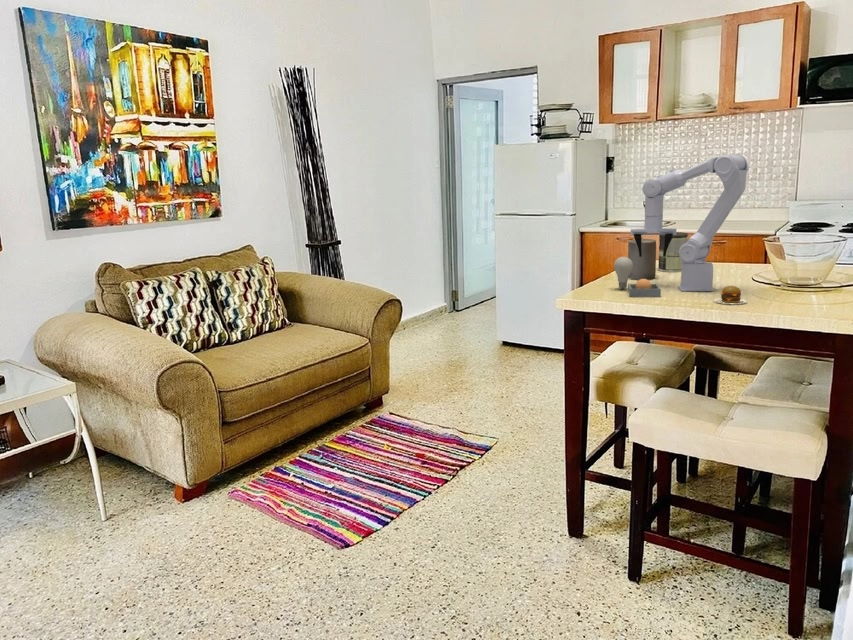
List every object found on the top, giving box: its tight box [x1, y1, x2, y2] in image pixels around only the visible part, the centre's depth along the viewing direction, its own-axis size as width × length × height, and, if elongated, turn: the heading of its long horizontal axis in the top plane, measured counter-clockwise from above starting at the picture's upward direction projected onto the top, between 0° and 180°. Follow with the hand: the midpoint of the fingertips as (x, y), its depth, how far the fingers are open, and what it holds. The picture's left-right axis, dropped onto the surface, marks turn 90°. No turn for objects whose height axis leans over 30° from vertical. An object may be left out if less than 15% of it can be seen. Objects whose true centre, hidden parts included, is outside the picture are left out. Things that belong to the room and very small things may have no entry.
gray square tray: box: [627, 283, 662, 298], centre depth 211 cm, size 9×9×2 cm
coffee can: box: [657, 231, 689, 273], centre depth 254 cm, size 10×10×14 cm
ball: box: [635, 279, 652, 289], centre depth 211 cm, size 5×5×5 cm
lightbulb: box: [613, 256, 633, 290], centre depth 220 cm, size 6×6×11 cm
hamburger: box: [713, 285, 747, 306], centre depth 194 cm, size 12×12×6 cm
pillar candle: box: [627, 237, 657, 281], centre depth 239 cm, size 10×10×15 cm
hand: (652, 256), depth 224 cm, fingers open, 7 cm apart
